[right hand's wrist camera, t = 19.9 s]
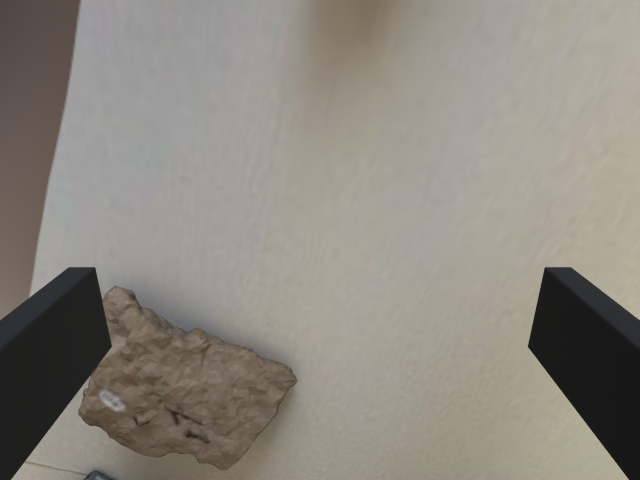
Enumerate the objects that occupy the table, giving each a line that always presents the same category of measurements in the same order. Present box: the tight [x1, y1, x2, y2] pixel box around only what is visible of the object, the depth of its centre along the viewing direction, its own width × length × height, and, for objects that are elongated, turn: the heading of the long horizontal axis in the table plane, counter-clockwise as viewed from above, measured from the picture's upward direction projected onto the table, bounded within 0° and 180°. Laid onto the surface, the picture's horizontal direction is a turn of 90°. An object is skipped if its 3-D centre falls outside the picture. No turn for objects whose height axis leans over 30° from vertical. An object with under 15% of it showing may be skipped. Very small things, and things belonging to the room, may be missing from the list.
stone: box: [78, 286, 297, 470], centre depth 44 cm, size 21×15×6 cm
